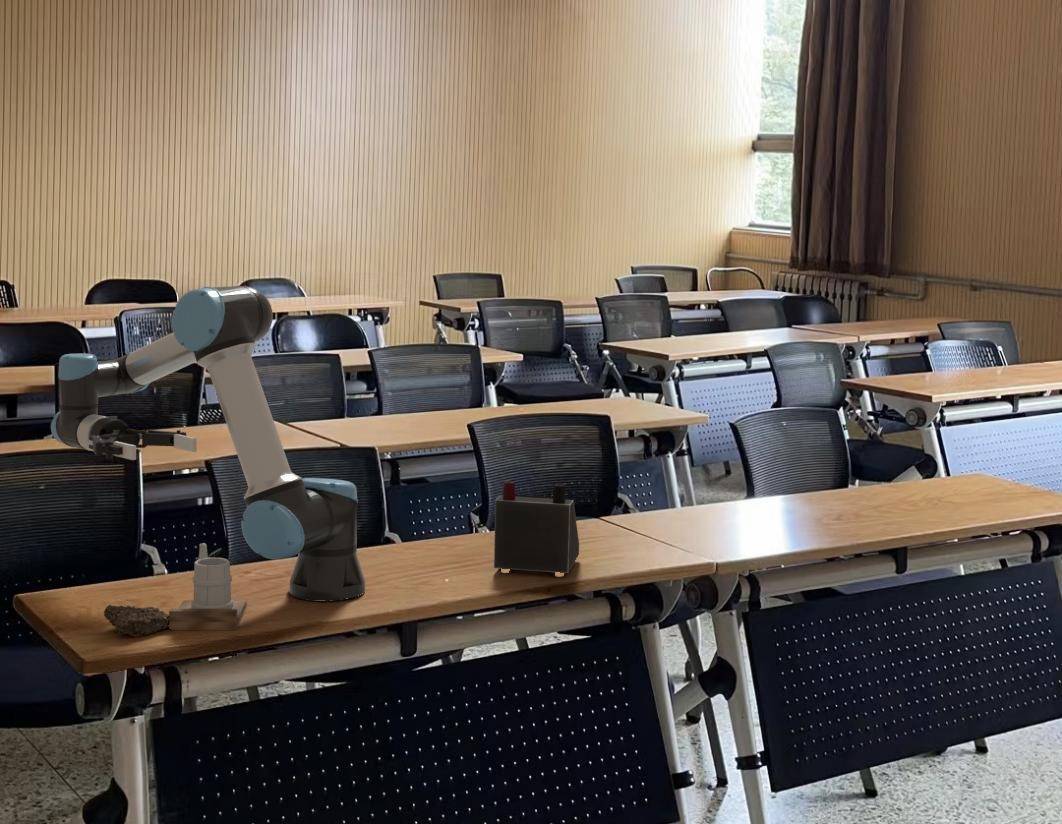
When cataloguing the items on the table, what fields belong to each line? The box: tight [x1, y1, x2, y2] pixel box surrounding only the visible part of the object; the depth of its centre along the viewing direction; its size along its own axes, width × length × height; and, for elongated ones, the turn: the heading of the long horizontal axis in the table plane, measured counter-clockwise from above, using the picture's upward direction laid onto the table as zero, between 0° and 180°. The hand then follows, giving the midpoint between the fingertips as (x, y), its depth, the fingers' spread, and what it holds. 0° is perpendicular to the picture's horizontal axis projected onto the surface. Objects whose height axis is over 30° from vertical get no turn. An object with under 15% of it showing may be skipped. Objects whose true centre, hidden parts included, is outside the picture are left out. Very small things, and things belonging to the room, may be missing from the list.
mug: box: [191, 542, 234, 609], centre depth 258 cm, size 8×12×12 cm, turn 30°
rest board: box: [168, 599, 248, 631], centre depth 258 cm, size 12×14×4 cm
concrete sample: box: [103, 604, 169, 637], centre depth 250 cm, size 12×10×5 cm
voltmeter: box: [493, 480, 580, 574], centre depth 301 cm, size 16×16×20 cm
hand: (165, 448), depth 266 cm, fingers open, 13 cm apart
